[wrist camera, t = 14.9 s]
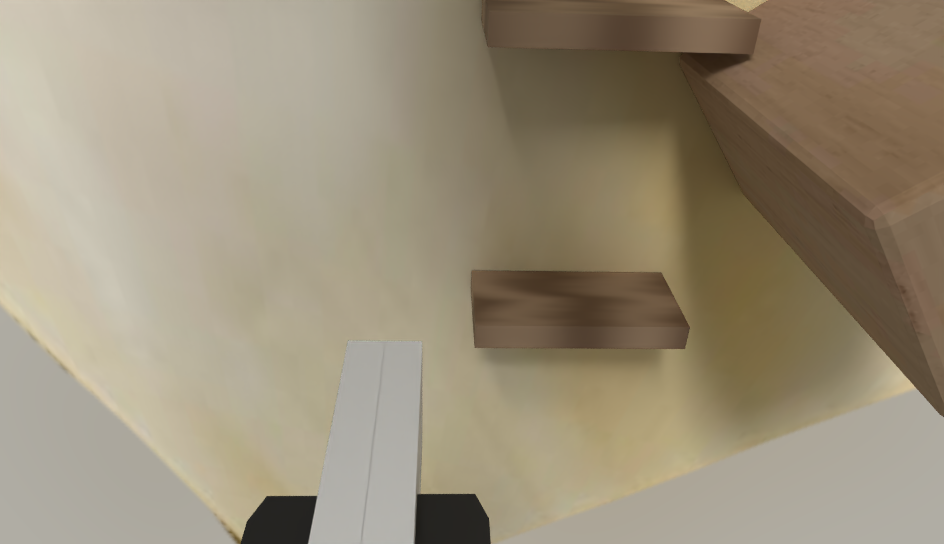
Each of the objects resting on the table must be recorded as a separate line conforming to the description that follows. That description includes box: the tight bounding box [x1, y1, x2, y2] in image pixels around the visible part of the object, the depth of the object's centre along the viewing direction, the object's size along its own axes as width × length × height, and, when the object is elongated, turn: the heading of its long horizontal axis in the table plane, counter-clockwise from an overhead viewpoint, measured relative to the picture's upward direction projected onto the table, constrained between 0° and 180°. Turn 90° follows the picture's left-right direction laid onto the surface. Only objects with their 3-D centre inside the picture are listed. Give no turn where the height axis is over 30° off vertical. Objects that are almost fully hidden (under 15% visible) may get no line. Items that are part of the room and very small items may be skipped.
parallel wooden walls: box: [471, 0, 761, 349], centre depth 38 cm, size 12×18×6 cm, turn 178°
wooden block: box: [680, 0, 944, 417], centre depth 30 cm, size 10×10×20 cm
